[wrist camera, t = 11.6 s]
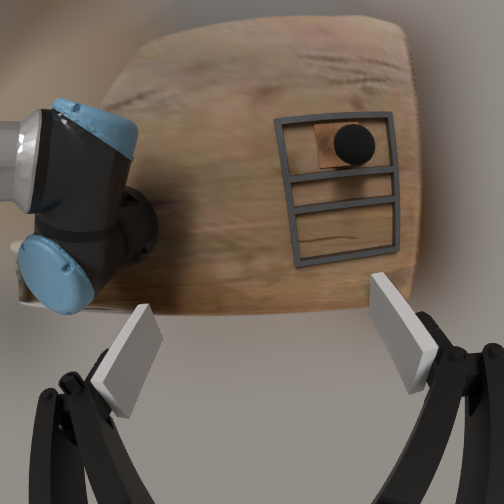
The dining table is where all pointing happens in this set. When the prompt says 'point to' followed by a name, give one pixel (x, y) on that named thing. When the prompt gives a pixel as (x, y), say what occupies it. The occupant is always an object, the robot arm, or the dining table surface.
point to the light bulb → (354, 144)
